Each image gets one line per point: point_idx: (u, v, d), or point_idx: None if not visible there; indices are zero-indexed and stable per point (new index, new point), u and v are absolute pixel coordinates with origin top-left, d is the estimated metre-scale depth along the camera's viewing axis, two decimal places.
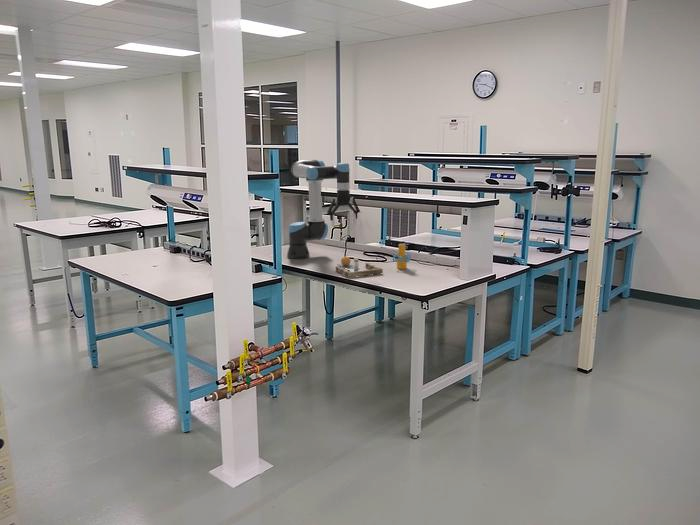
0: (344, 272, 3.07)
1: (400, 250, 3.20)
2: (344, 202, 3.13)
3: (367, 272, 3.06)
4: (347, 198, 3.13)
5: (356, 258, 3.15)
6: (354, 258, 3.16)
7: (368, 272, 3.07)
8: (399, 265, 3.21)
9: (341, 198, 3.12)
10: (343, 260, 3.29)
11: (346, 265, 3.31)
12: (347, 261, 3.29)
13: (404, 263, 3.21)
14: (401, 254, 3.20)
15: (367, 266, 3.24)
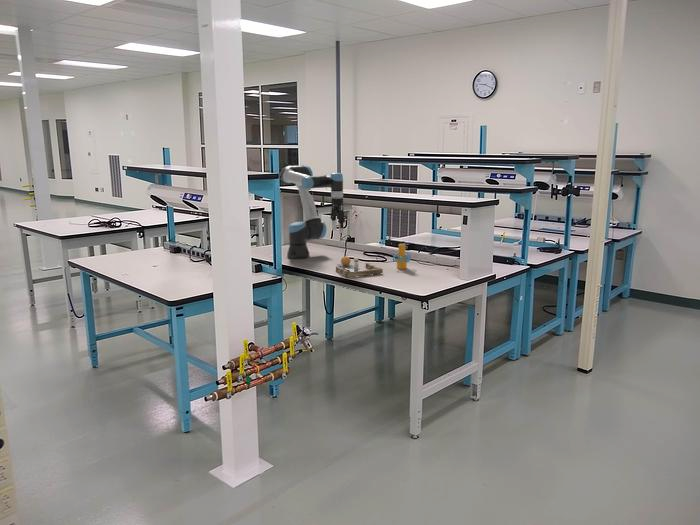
0: (344, 272, 3.07)
1: (400, 250, 3.20)
2: None
3: (367, 272, 3.06)
4: (337, 206, 3.32)
5: (356, 258, 3.15)
6: (354, 258, 3.16)
7: (368, 272, 3.07)
8: (399, 265, 3.21)
9: (334, 205, 3.36)
10: (343, 260, 3.29)
11: (346, 265, 3.31)
12: (347, 261, 3.29)
13: (404, 263, 3.21)
14: (401, 254, 3.20)
15: (367, 266, 3.24)
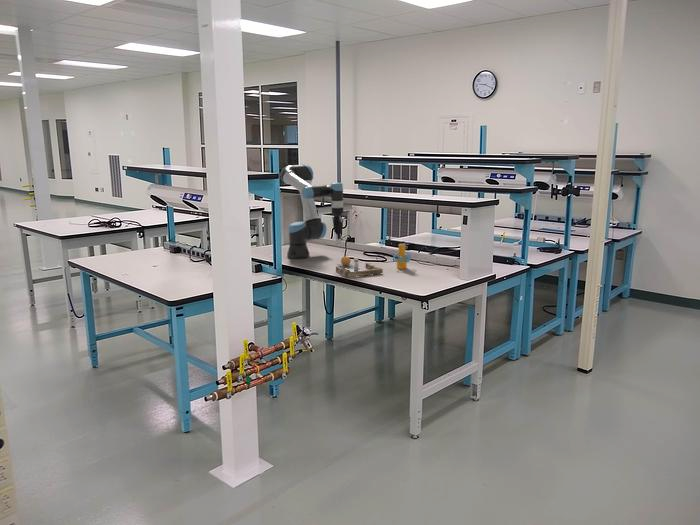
0: (344, 272, 3.07)
1: (400, 250, 3.20)
2: None
3: (367, 272, 3.06)
4: (337, 215, 3.33)
5: (356, 258, 3.15)
6: (354, 258, 3.16)
7: (368, 272, 3.07)
8: (399, 265, 3.21)
9: (334, 213, 3.38)
10: (343, 260, 3.29)
11: (346, 265, 3.31)
12: (347, 261, 3.29)
13: (404, 263, 3.21)
14: (401, 254, 3.20)
15: (367, 266, 3.24)
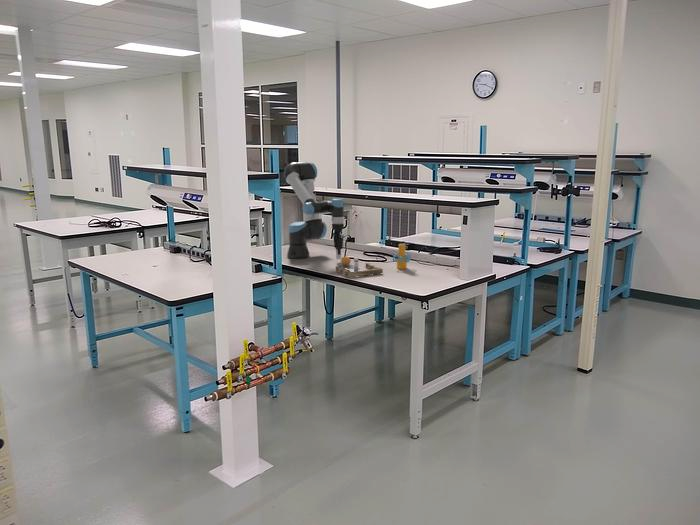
0: (344, 272, 3.07)
1: (400, 250, 3.20)
2: None
3: (367, 272, 3.06)
4: (338, 231, 3.35)
5: (356, 258, 3.15)
6: (354, 258, 3.16)
7: (368, 272, 3.07)
8: (399, 265, 3.21)
9: None
10: (343, 260, 3.29)
11: (346, 265, 3.31)
12: (347, 261, 3.29)
13: (404, 263, 3.21)
14: (401, 254, 3.20)
15: (367, 266, 3.24)
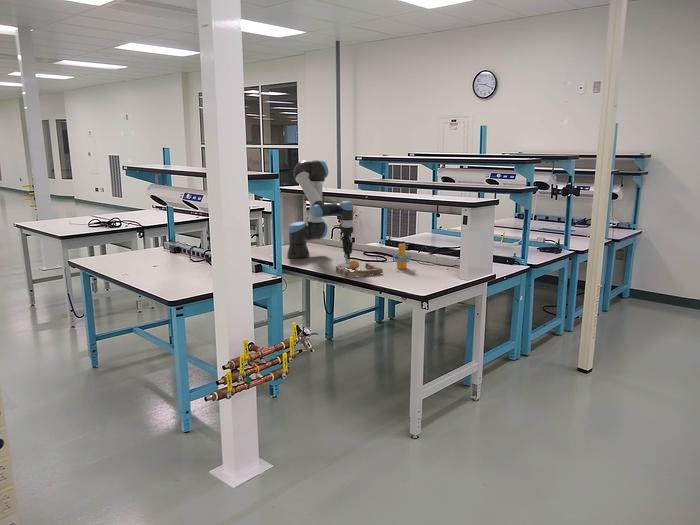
0: (344, 272, 3.07)
1: (400, 250, 3.20)
2: None
3: (367, 272, 3.06)
4: (347, 235, 3.22)
5: None
6: None
7: (368, 272, 3.07)
8: (399, 265, 3.21)
9: (344, 232, 3.27)
10: None
11: (353, 260, 3.19)
12: None
13: (404, 263, 3.21)
14: (401, 254, 3.20)
15: (367, 266, 3.24)
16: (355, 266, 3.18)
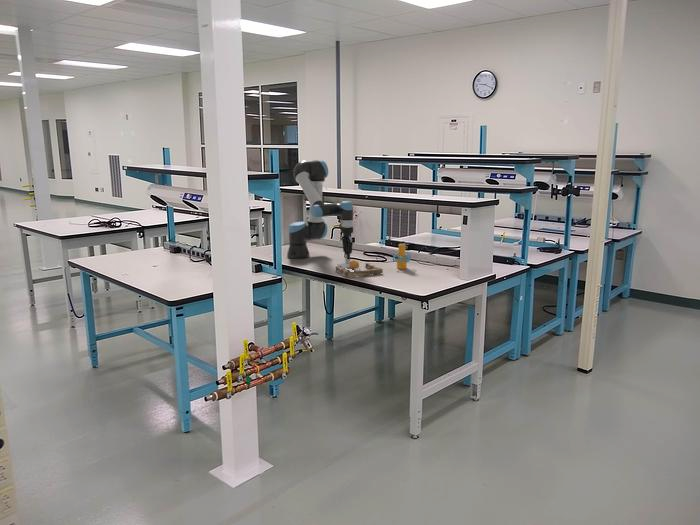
0: (344, 272, 3.07)
1: (400, 250, 3.20)
2: None
3: (367, 272, 3.06)
4: (347, 235, 3.22)
5: None
6: None
7: (368, 272, 3.07)
8: (399, 265, 3.21)
9: (344, 232, 3.27)
10: None
11: (353, 260, 3.19)
12: None
13: (404, 263, 3.21)
14: (401, 254, 3.20)
15: (367, 266, 3.24)
16: (355, 266, 3.18)
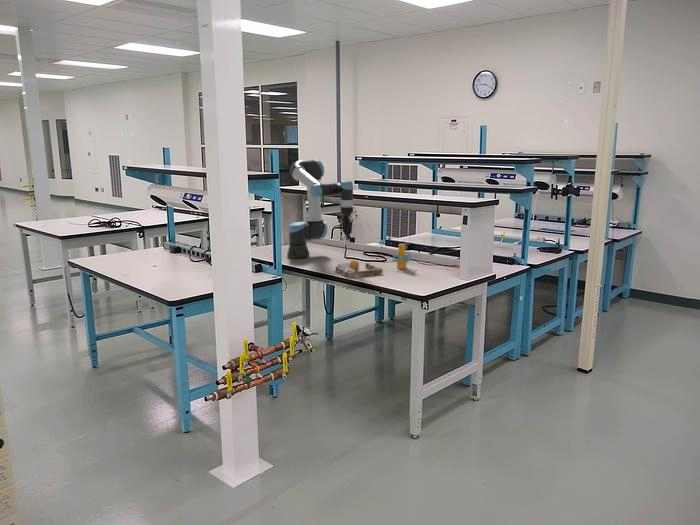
0: (344, 272, 3.07)
1: (400, 250, 3.20)
2: None
3: (367, 272, 3.06)
4: (347, 215, 3.19)
5: None
6: None
7: (368, 272, 3.07)
8: (399, 265, 3.21)
9: (343, 213, 3.24)
10: None
11: (353, 260, 3.19)
12: None
13: (404, 263, 3.21)
14: (401, 254, 3.20)
15: (367, 266, 3.24)
16: (355, 266, 3.18)
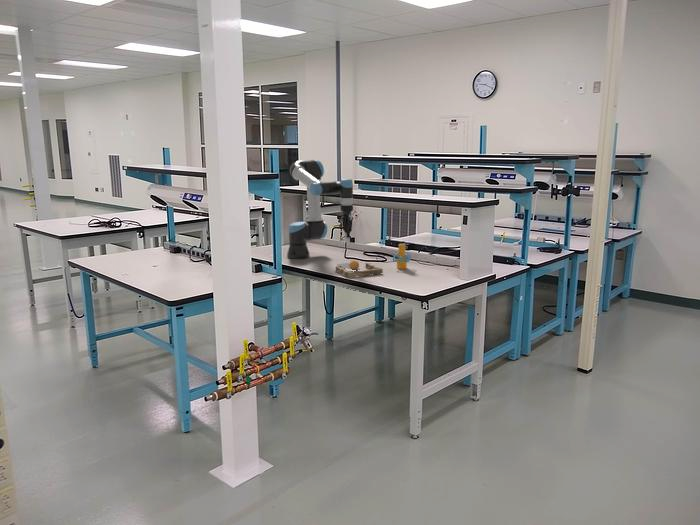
0: (344, 272, 3.07)
1: (400, 250, 3.20)
2: None
3: (367, 272, 3.06)
4: (347, 213, 3.19)
5: None
6: (351, 271, 3.07)
7: (368, 272, 3.07)
8: (399, 265, 3.21)
9: None
10: None
11: (353, 260, 3.19)
12: None
13: (404, 263, 3.21)
14: (401, 254, 3.20)
15: (367, 266, 3.24)
16: (355, 266, 3.18)
